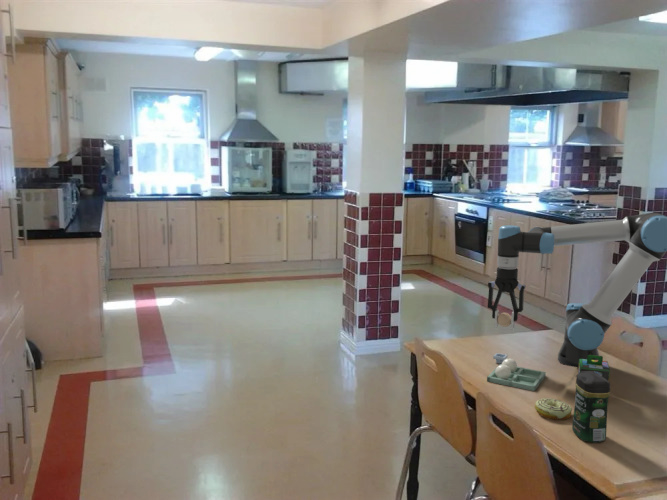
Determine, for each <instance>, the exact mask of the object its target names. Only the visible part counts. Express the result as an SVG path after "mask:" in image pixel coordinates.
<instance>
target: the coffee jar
mask: <svg viewBox="0 0 667 500" xmlns="http://www.w3.org/2000/svg"><path fill="white" fill-rule="evenodd" d="M610 395H611V382H610V380H609V381H607V380H606V379H605V378H603V377H602V376H601V375H599V374H597V373H595V372H594V371H581V372H580V373H579V374H578V373H577V375H576V378H575V398H574V408H573V417H572V425H571V429H572V431H573V432H574V434H575V435H576V436H577V438H579V439H581V441H583V442H589V443H594V444H596V443H602V442H604V441H605V440H606V439H607V428H608V427H607V422H608V421H607V420H608V405H609V404H608V403H609V397H610Z"/></svg>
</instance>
